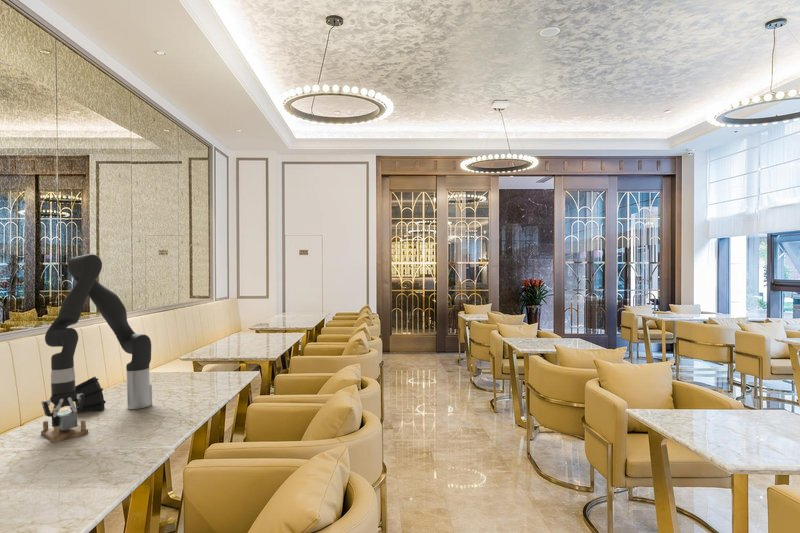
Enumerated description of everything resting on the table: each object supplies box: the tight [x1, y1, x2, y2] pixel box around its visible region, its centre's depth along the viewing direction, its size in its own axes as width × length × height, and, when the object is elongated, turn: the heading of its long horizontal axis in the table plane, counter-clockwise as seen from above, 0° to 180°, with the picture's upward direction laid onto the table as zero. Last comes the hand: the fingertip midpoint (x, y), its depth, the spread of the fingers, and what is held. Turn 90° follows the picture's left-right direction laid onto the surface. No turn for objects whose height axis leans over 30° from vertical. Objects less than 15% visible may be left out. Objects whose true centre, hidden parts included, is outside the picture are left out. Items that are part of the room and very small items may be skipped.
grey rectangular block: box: [51, 410, 78, 431], centre depth 180 cm, size 5×9×5 cm, turn 57°
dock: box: [40, 419, 89, 443], centre depth 180 cm, size 11×15×5 cm
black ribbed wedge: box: [73, 376, 106, 413], centre depth 210 cm, size 4×13×15 cm, turn 98°
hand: (64, 423), depth 180 cm, fingers closed on grey rectangular block, 5 cm apart
